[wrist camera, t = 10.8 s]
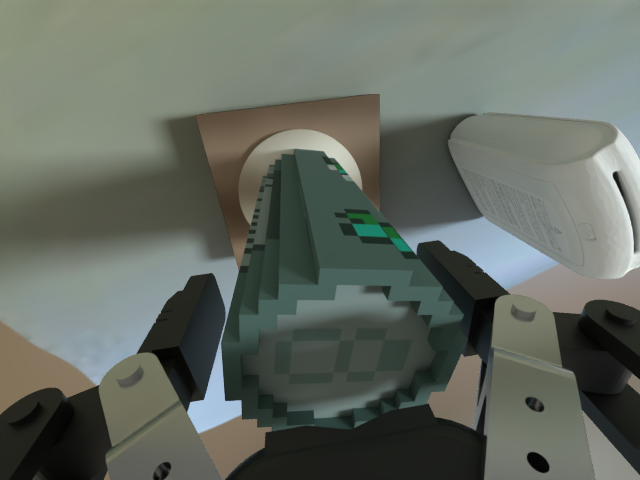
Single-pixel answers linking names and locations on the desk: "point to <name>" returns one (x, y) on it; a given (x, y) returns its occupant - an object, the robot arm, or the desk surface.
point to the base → (287, 149)
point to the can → (332, 307)
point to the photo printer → (556, 187)
